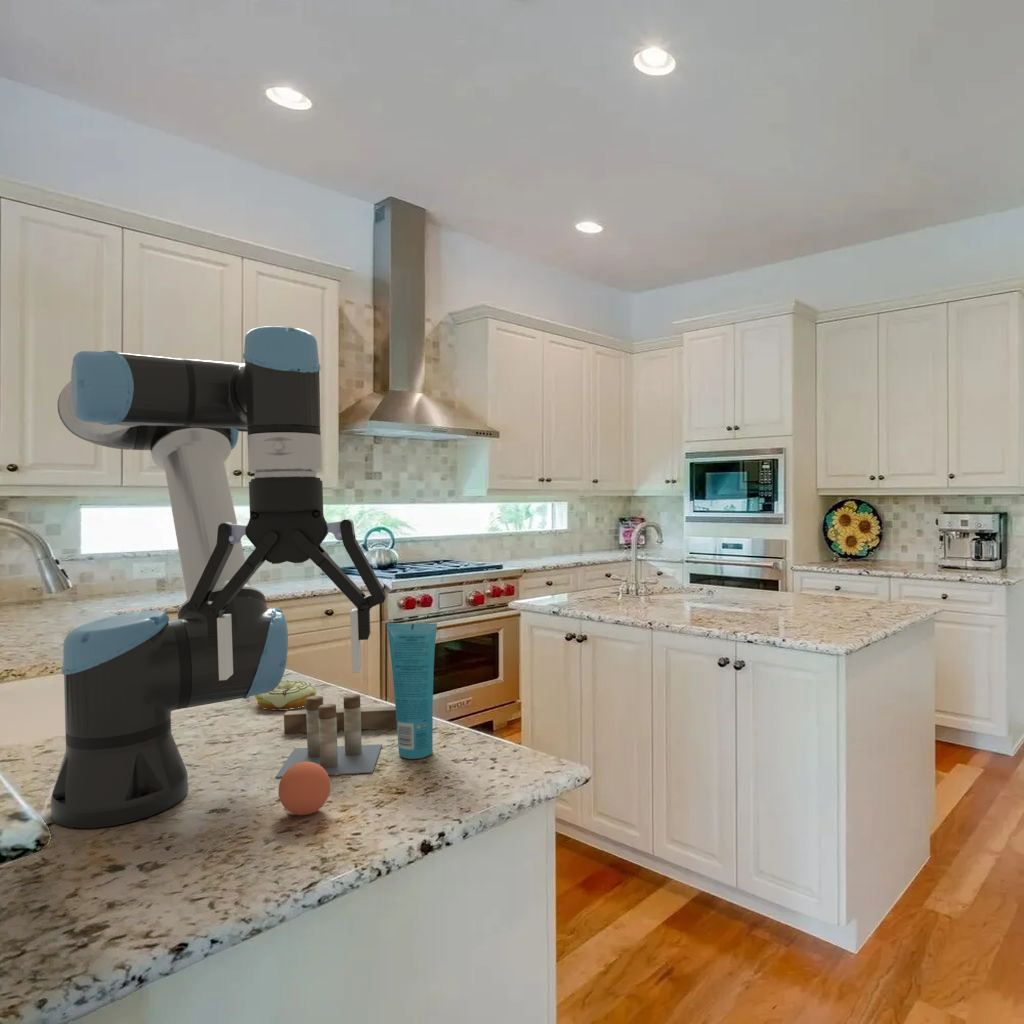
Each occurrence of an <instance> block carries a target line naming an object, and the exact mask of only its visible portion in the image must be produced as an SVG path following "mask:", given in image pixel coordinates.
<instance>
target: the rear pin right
mask: <svg viewBox="0 0 1024 1024" xmlns="http://www.w3.org/2000/svg"><path fill="white" fill-rule="evenodd" d="M323 704H324V696H322V695H315V696H311V697H307V698H306V707H305V710H306V716H307V732H306V740H307V741H306V745H307V747H306V748H308V756H309V757H319V756H320V741H319V708H318V707H319V706H320V705H323Z"/></svg>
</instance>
